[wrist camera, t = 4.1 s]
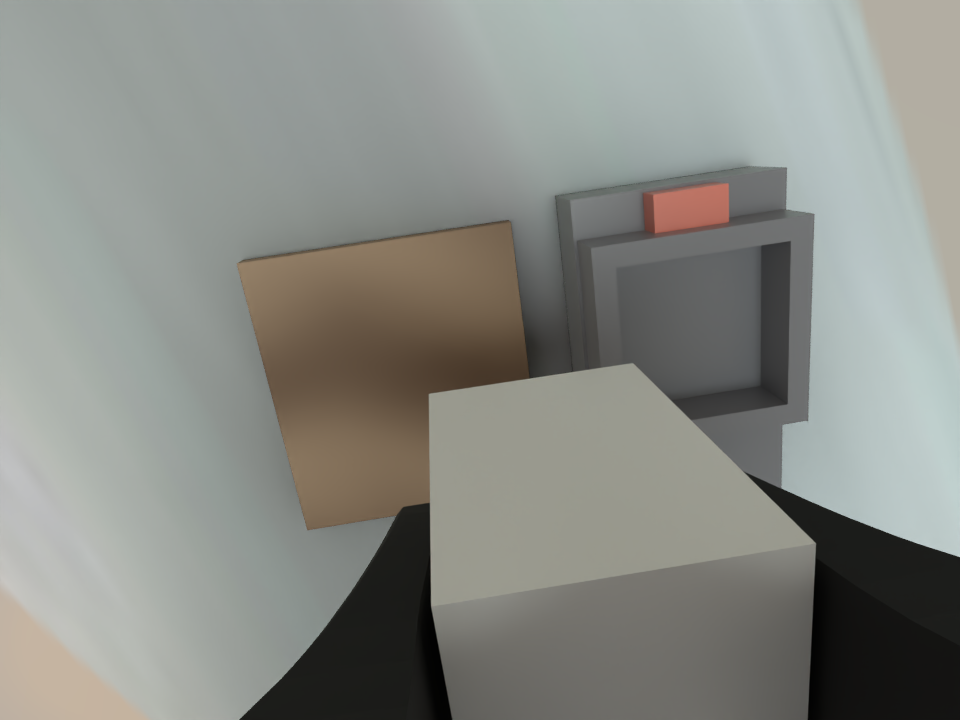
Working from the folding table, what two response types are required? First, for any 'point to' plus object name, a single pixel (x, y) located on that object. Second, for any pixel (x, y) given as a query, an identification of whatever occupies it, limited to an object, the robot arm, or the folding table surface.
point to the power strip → (698, 300)
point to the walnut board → (380, 356)
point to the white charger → (608, 560)
